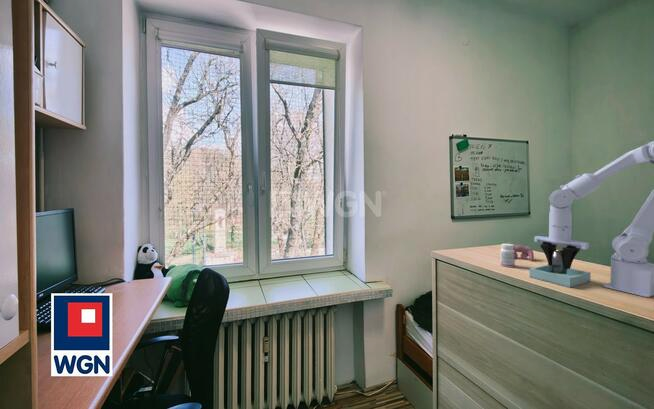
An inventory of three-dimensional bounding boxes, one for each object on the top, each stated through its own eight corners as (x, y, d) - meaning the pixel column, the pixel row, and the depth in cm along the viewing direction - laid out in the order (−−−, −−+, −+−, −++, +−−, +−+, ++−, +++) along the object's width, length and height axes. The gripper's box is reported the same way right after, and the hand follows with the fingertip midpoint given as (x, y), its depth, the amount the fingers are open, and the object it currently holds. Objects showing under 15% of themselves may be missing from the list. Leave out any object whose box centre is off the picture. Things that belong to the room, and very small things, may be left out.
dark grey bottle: (569, 272, 92) (570, 250, 91) (562, 274, 90) (563, 251, 90) (555, 269, 95) (556, 247, 95) (548, 271, 94) (549, 249, 93)
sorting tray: (590, 281, 90) (590, 272, 90) (569, 287, 85) (570, 278, 85) (549, 272, 100) (549, 263, 100) (529, 277, 96) (529, 268, 96)
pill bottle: (516, 267, 107) (517, 245, 106) (503, 267, 108) (503, 245, 107) (511, 264, 112) (511, 243, 111) (498, 263, 113) (498, 243, 112)
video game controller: (533, 263, 117) (532, 247, 119) (534, 260, 114) (533, 244, 116) (505, 260, 122) (505, 245, 125) (505, 258, 119) (505, 242, 121)
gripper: (594, 227, 87) (593, 270, 88) (543, 222, 100) (542, 260, 101) (582, 229, 84) (581, 274, 85) (530, 224, 97) (530, 262, 98)
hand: (559, 266), depth 93 cm, fingers closed on dark grey bottle, 4 cm apart
